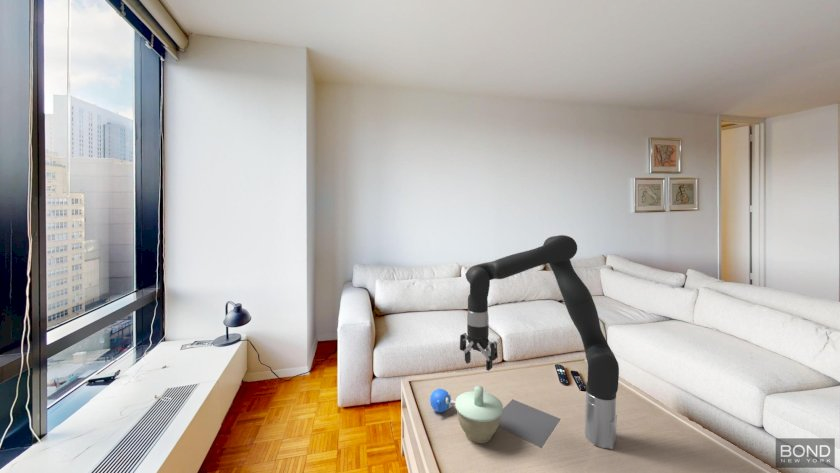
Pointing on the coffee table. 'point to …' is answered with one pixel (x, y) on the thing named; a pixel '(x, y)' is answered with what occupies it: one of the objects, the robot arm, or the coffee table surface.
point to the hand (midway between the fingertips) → (478, 366)
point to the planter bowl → (478, 429)
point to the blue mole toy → (441, 400)
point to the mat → (527, 422)
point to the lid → (479, 405)
